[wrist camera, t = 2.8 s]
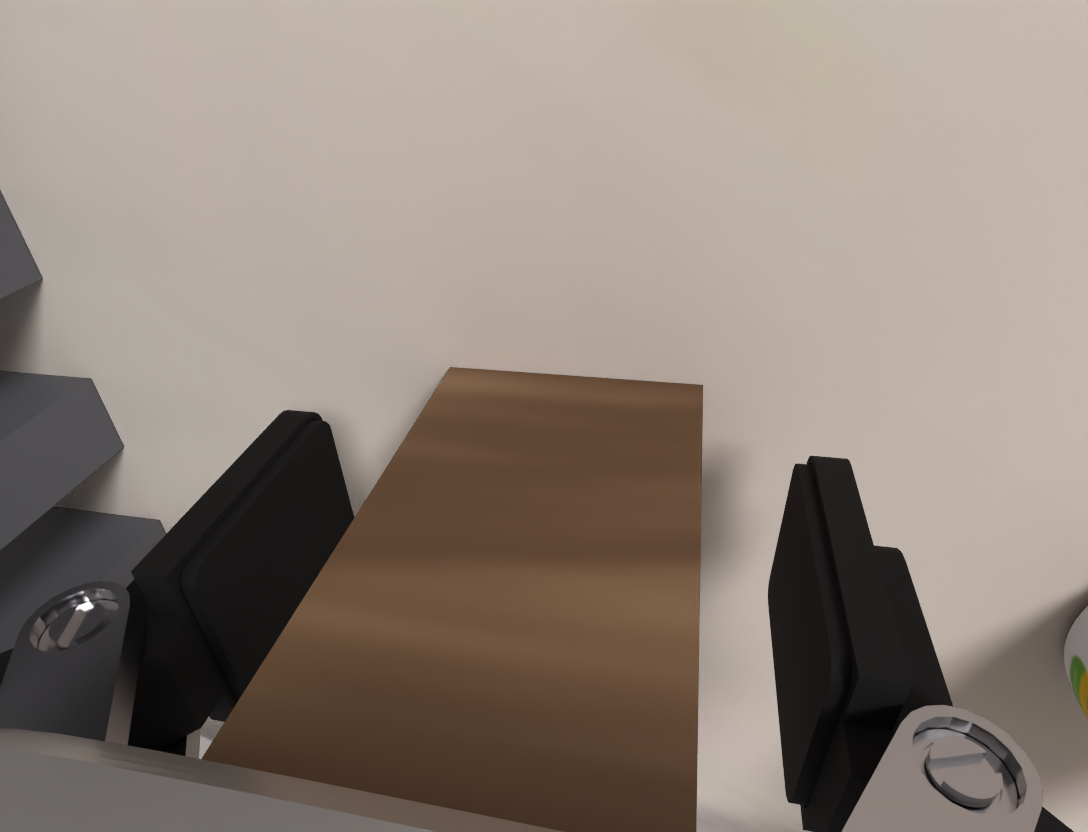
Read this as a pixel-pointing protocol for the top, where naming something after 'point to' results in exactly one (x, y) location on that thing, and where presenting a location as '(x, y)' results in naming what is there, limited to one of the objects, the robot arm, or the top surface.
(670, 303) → the top surface
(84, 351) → the top surface
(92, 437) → the domino
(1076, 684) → the supplement bottle
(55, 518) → the domino
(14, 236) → the domino
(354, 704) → the domino
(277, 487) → the robot arm
